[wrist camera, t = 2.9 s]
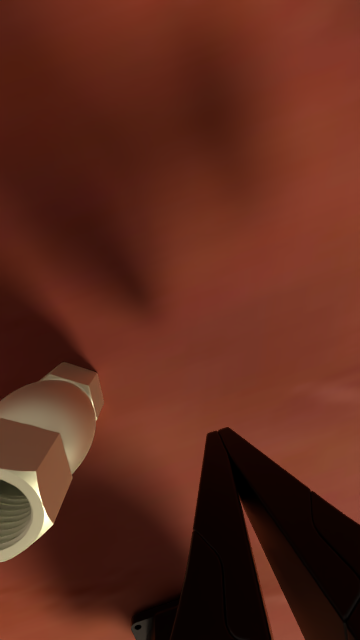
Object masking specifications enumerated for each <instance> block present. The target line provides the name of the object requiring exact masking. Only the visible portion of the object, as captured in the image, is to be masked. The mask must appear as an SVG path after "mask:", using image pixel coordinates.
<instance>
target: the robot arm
mask: <svg viewBox="0 0 360 640" xmlns="http://www.w3.org/2000/svg"><path fill="white" fill-rule="evenodd" d="M240 500H241V502H240ZM241 503H242V505H243V507H244V510H245V512H246V514H247V516H248V518H249V520H250V522H251V525H252V527H253V529H254V531H255V533H256V535H257V537H258V540H259V542H260V544H261V546H262V548H263V550H264V552H265V555H266V557H267V559H268V561H269V563H270V565H271V567H272V569H273V572H274V574H275V576H276V578H277V580H278V582H279V584H280V587H281V589H282V591H283V593H284V595H285V597H286V599H287V602H288V604H289V606H290V608H291V610H292V612H293V614H294V617H295V619H296V621H297V623H298V625H299V627H300V629H301V632H302V634H303V636H304V638H305V640H360V525H359V524H358V523H356V522H355V521H353V520H352V519H350V518H349V517H347V516H346V515H345V514H343V513H342V512H340V511H339V510H338V509H336V508H335V507H334V506H332V505H331V504H329V503H328V502H327V501H325V500H324V499H323V498H321V497H320V496H319V495H317V494H316V493H315V492H313V491H311V490H310V489H309V488H308V487H307V486H305V485H304V484H303V483H301V482H300V481H299V480H297V479H296V478H295V477H294V476H292V475H291V474H290V473H288V472H287V471H286V470H284V469H283V468H282V467H280V466H279V465H278V464H276V463H275V462H274V461H272V460H271V459H270V458H268V457H267V456H266V455H265V454H263V453H262V452H261V451H259V450H258V449H257V448H255V447H254V446H253V445H251V444H250V443H249V442H247V441H246V440H245V439H243V438H242V437H241V436H239V435H238V434H237V433H236V432H234V431H233V430H232V429H230V428H229V427H226V428H223V429H220V430H219V431H213V432H210V433H208V434H207V437H206V444H205V450H204V457H203V464H202V471H201V478H200V484H199V491H198V498H197V505H196V512H195V518H194V525H193V532H192V538H191V545H190V551H189V557H188V562H187V568H186V574H185V578H184V583H183V587H182V592H181V596H180V599H178V600H176V601H173V602H170V603H167V604H164V605H161V606H159V607H156V608H153V609H150V610H147V611H144V612H142V613H139V614H136V615H134V616H133V617H132V621H131V630H132V632H133V634H134V637H135V639H136V640H274V638H273V634H272V630H271V626H270V622H269V618H268V613H267V609H266V605H265V601H264V597H263V593H262V589H261V585H260V580H259V576H258V572H257V568H256V564H255V560H254V556H253V551H252V547H251V543H250V539H249V535H248V531H247V527H246V523H245V518H244V514H243V510H242V506H241Z"/></svg>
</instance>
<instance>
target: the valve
mask: <svg viewBox="0 0 360 640" xmlns="http://www.w3.org/2000/svg"><path fill="white" fill-rule="evenodd" d="M103 404H104V399H103V395H102V391H101V386H100V382H99V378H98V374H97V372H94V371H91V370H88V369H85V368H82V367H79V366H76V365H73V364H69V363H66V362H62V363H61V364H60V365H58V366H57V367H56V368H54V369H53V370H52V371H51V372H49V373H48V374H47V375H46V376H44V377H43V378H42V379H41V380H39V381H38V382H34V383H31V384H28V385H26V386H23V387H21V388H19V389H17V390H15V391H13V392H12V393H11V394H9V395H8V396H6V397H5V398H3V399H2V400H1V401H0V562H4V561H7V560H9V559H11V558H13V557H15V556H16V555H18V554H19V553H21V552H22V551H24V550H25V549H27V548H28V547H29V546H30V545H31V544H33V543H34V542H35V541H36V540H37V539H39V538H40V537H41V536H42V535H43V534H44V533H45V532H46V531H47V530H48V529H49V528H50V527H51V526H52V525H53V524H54V522H55V519H56V517H57V515H58V512H59V510H60V507H61V505H62V503H63V500H64V498H65V495H66V493H67V491H68V488H69V486H70V483H71V481H72V479H73V477H72V474H73V473H74V472H75V470H76V469H77V468H78V467H79V465H80V464H81V463H82V461H83V460H84V458H85V457H86V455H87V453H88V451H89V449H90V447H91V444H92V441H93V438H94V434H95V427H96V420H97V418H98V416H99V414H100V411H101V409H102V406H103Z"/></svg>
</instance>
